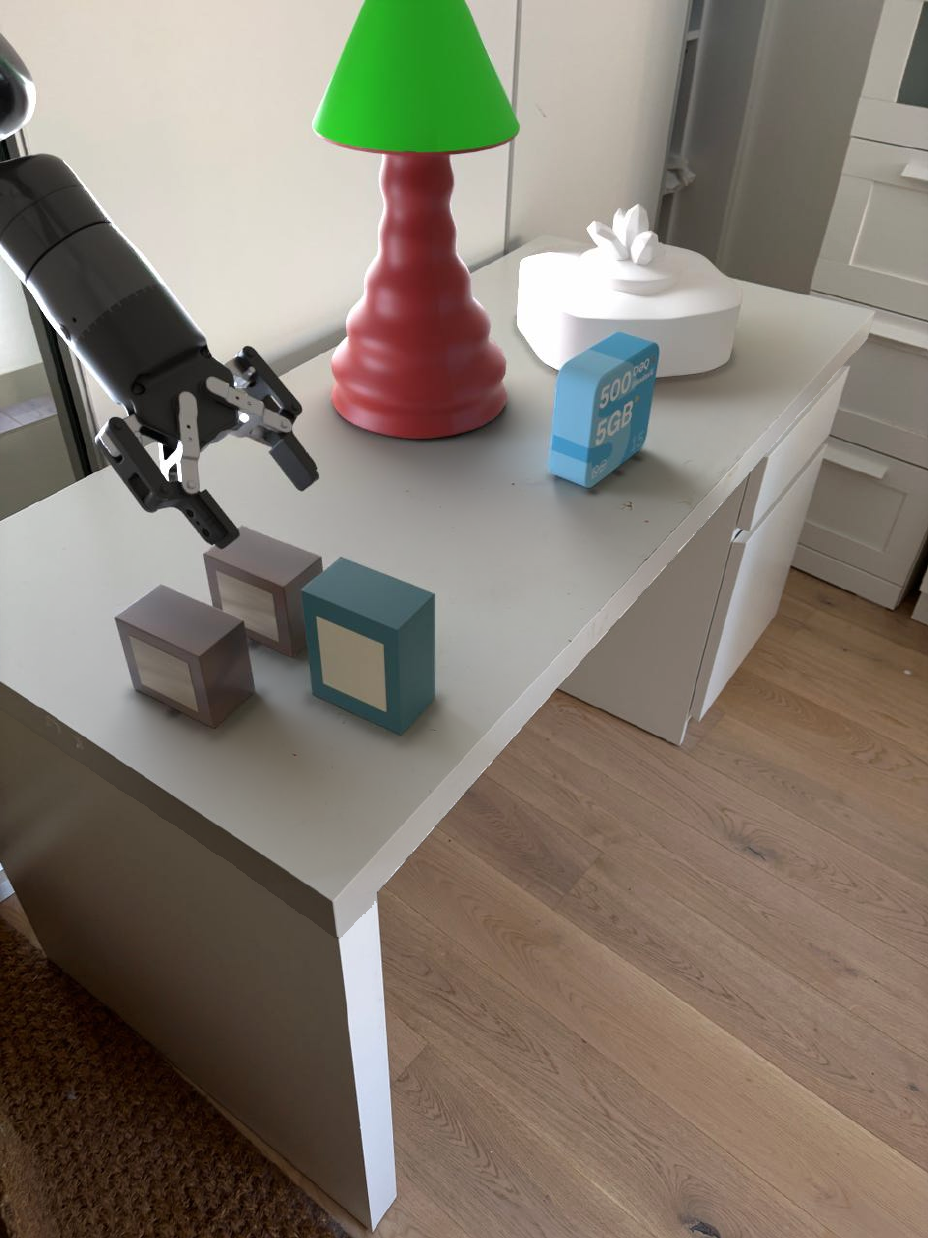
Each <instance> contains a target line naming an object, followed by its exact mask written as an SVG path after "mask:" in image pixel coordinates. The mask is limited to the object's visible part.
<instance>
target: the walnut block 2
mask: <svg viewBox="0 0 928 1238" xmlns="http://www.w3.org/2000/svg"><path fill="white" fill-rule="evenodd" d="M237 529H238V530H239V533H240V536H239V537H238V538H237V539H236V540H234V541H233V542H232V543H231V544H229V545H228V546H227V547H225V548H224V549H219V548H218V547H217V546H216V545H215V544H214V545H211V547H210V548H208V549H206V550H205V551H204V552H203V553H202V558H203V563H204V564H203V565H204V569H205V574H206V579H207V585H208V589H209V595H210V600H211V606H213V607H215V608H217V609H219V610H222V611H224V612H226V613H228V614H231V615H233V616H235V617H237V618H240V619H242V620H244V624H245V630H246V636H247V638H248V639H250V640H253V641H256V642H258V643H259V644H261V645H263V646H266V647H269V648H270V649H273V650H275V651H278V652H279V653H282V654H284V655H286V656H289V657H291V658H294V657H296V655H298V654H299V653H300V652H301V651H302V650H303V649H304V648H305V647H307V639H306V631H305V622H304V613H303V604H302V595H301V590H302V589H303V588H304V587H305V586H306V585H307V584H309V583H310V582H311V581H312V580H313V579H315V578H316V577H317V576H318V575H319V574H321V573H322V572H323V571H324V568H323V557H322V556H321V555H319V554H316V553H313V552H311V551H308V550H306V549H303V548H301V547H298V546H295V545H294V544H290V543H288V542H286V541H283V540H280V539H278V538H276V537H273V536H271V535H268V534H265V533H264V532H261V531H258V530H256V529H253V528H250V527H248V526H245V525H244V524H243V525H240V526H238V527H237Z"/></svg>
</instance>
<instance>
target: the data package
mask: <svg viewBox="0 0 928 1238" xmlns="http://www.w3.org/2000/svg"><path fill="white" fill-rule="evenodd" d="M659 352H660V351H659V346H658V344H657V343H655V342H652V341H648V340H645V339H642V338H639V337H635V336H632V335H629V334H626V333H622V332H615V333H613V334H612V335H610V336H609V337H607V338H605V339H604V340H602V341H600V342H599V343H597V344H595V345H594V346H592V347H590V348H589V349H587V350H585V351H584V352H582V353H580V354H579V355H577V356H575V357H574V358H572V359H571V360H569V361H567V362H566V363H565V364H564V365H563V366H562V367H561V369H560V371H559V370H558V373H557V376H556V379H555V389H554V401H553V411H552V413H553V414H552V425H551V436H550V447H549V448H550V449H549V457H548V458H549V459H548V468H549V469H548V470H549V472H550V474H551V475H554V476H556V477H560V478H562V479H564V480H567V481H569V482H572V483H575V484H577V485H579V486H582V487H584V488H586V489H587V488H588V489H590V488H593V487H594V486H595V485H597V484H598V483H599V482H601V481H602V480H603V479H605V478H606V477H607V476H608V475H610V474H611V473H613V471H615V470H616V469H618V468H619V467H620V466H622V465H623V464H624V463H625V462H627V460H629V459H630V458H632V457H633V456H634V455H636V454H637V453H639V451H640V450H641V449H642V448H643V446H644V444H645V441H646V439H647V436H648V435H647V434H648V429H649V423H650V415H651V409H652V404H653V397H654V390H655V384H656V379H657V378H656V372H657V366H658V360H659Z"/></svg>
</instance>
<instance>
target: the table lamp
mask: <svg viewBox="0 0 928 1238" xmlns="http://www.w3.org/2000/svg"><path fill="white" fill-rule="evenodd" d="M520 124H521V123H520V122H519V119H518V117H517V116H516V113H515V110H514V109H513V106H512V103H511V102H510V99H509V97H508V95H507V92H506V89H505V88H504V86H503V83H502V81H501V78H500V76H499V74H498V72H497V70H496V67H495V65H494V63H493V61H492V58H491V56H490V54H489V51H488V49H487V46H486V44H485V42H484V39H483V38H482V35H481V34H480V31H479V29H478V27H477V24H476V21H475V19H474V17H473V14H472V13H471V10H470V7H469V5H468V3H467V2H466V0H364V1H363V4H362V6H361V8H360V10H359V12H358V14H357V17H356V19H355V21H354V24H353V26H352V29H351V31H350V33H349V36H348V38H347V41H346V42H345V45H344V47H343V49H342V52H341V54H340V57H339V59H338V62H337V64H336V66H335V68H334V70H333V73H332V75H331V78H330V80H329V82H328V84H327V87H326V90H325V91H324V94H323V96H322V99H321V101H320V103H319V105H318V108H317V110H316V113H315V115H314V118H313V119H312V122H311V127H312V130H313V131H314V133H315V134H316V135H317V137H319V138H320V139H322V140H323V141H325V142H327V143H329V144H331V145H335V146H338V147H341V148H345V149H349V150H352V151H358V152H365V153H371V154H379V155H382V158H381V164H380V169H379V173H378V184H379V190H380V194H381V197H382V201H383V202H382V203H383V211H382V214H381V217H380V220H379V223H378V229H377V240H378V241H377V242H378V250H377V254H376V256H375V257H374V259H372V262H371V263H370V264H369V266H368V268H367V270H366V273H365V275H364V282H363V283H364V292H363V294H362V297H361V298H360V299H359V300H358V301H357V302H356V303H355V304H354V306H352V307H351V309H350V310H349V312H348V314H347V316H346V320H345V331H346V337H345V338H344V339H343V340H341V342H340V343H339V345H337V347H336V348H335V350H334V352H333V354H332V356H331V359H330V368H331V374H332V376H333V378H334V380H335V381H334V384H333V387H332V389H331V392H330V398H331V399H330V400H331V403H332V405H333V408H334V409H335V410H336V411H337V412H338V413H339V414H340V416H341V417H342V418H343V419H345V420H346V421H347V422H349V423H350V424H352V425H354V426H355V427H357V428H360V429H362V430H365V431H368V432H371V433H375V434H379V435H382V436H389V437H393V438H400V439H410V440H411V439H412V440H427V439H438V438H439V439H440V438H445V437H451V436H456V435H459V434H464V433H469V432H471V431H475V430H477V429H478V428H482V427H484V426H485V425H487V424H488V423H489V422H491V421H492V420H494V419H495V418H496V417H497V416H498V415H499V414H500V413H501V412H502V411H503V409H504V407H505V405H506V404H507V400H508V392H507V389H506V387H505V384H504V381H503V380H504V378H505V375H506V372H507V359H506V356H505V354H504V352H503V350H502V349H501V347H500V346H499V345H498V343H496V341H495V340H494V339H493V338H492V337H491V330H492V329H491V328H492V323H491V321H492V320H491V318H490V315H489V313H488V312H487V310H486V309H485V307H484V306H483V305H482V304H481V303H480V302H479V301H478V299H476V298H475V296H474V295H473V281H472V276H471V273H470V271H469V269H468V266H467V265H466V264H465V262H464V261H463V260H462V258H461V257H460V255H459V253H458V249H457V248H458V247H457V246H458V228H457V224H456V221H455V218H454V214H453V211H452V200H453V196H454V193H455V188H456V174H455V170H454V166H453V161H452V156H453V155H462V154H471V153H478V152H483V151H486V150H487V151H488V150H492V149H495V148H498V147H500V146H503V145H504V146H505V145H506V144H509V143H510V142H511V141H513V140H514V139H516V138H517V136H518V135H519V132H520V131H521V125H520Z"/></svg>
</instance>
